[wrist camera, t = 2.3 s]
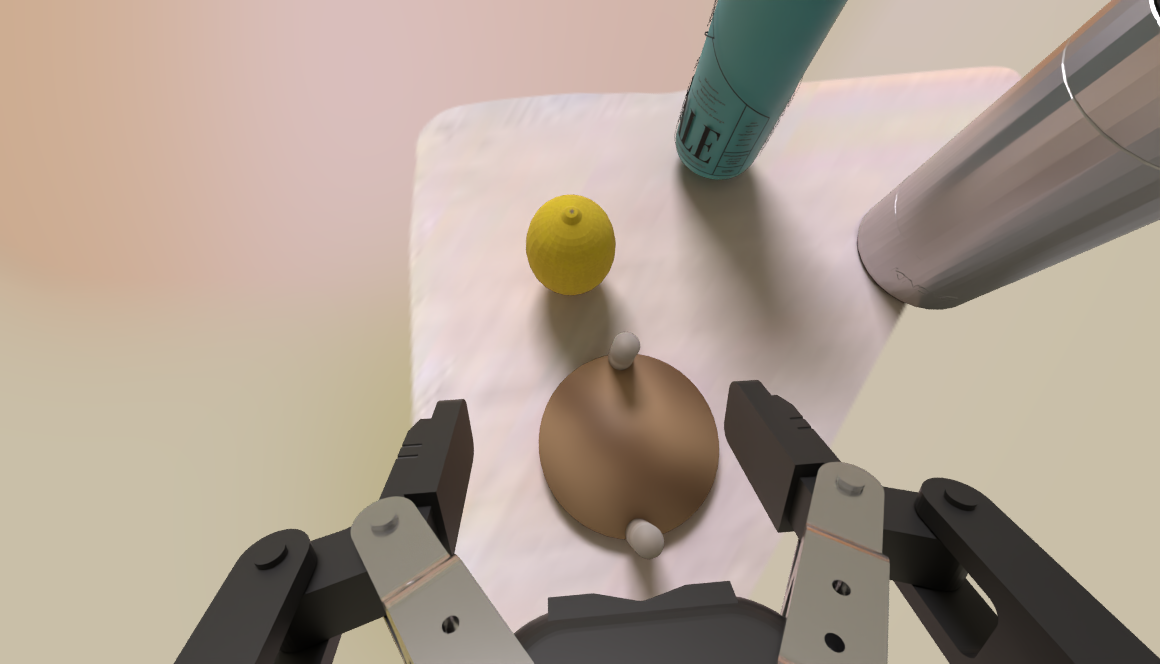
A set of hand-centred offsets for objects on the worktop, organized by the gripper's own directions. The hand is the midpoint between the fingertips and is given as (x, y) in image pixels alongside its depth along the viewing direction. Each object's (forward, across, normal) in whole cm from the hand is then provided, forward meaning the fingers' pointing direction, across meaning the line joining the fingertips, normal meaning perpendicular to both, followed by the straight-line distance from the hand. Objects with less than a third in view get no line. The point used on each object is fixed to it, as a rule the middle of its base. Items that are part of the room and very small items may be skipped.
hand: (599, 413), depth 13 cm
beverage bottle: (+25, -12, -4) cm, 28 cm away
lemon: (+19, 0, +2) cm, 19 cm away
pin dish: (+10, -3, +10) cm, 15 cm away
